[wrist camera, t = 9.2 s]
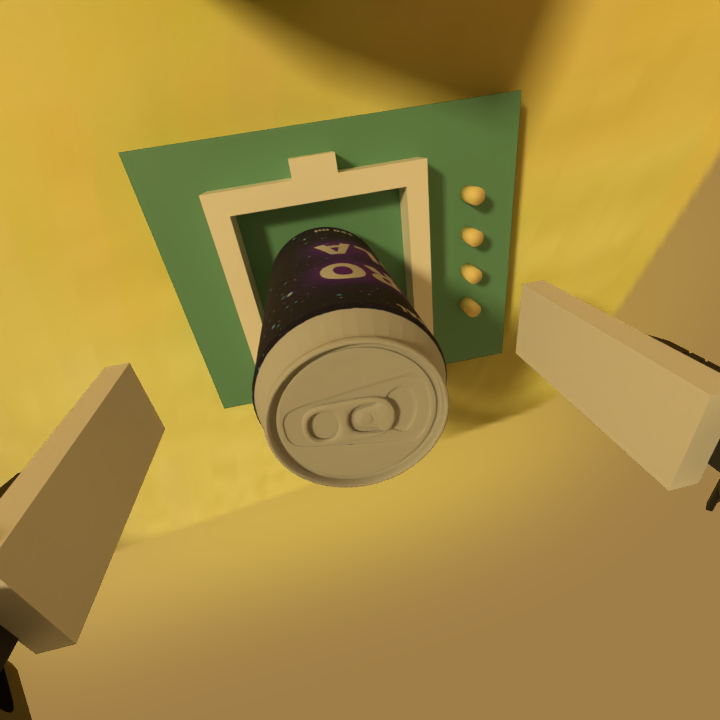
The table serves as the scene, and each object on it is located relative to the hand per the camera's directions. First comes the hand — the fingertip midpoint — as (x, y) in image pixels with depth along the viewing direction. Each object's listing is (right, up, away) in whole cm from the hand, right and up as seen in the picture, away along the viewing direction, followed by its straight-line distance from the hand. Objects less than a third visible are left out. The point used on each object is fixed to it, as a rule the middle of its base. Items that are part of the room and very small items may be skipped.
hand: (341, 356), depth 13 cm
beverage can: (-1, +4, +7) cm, 9 cm away
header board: (0, +5, +8) cm, 10 cm away
